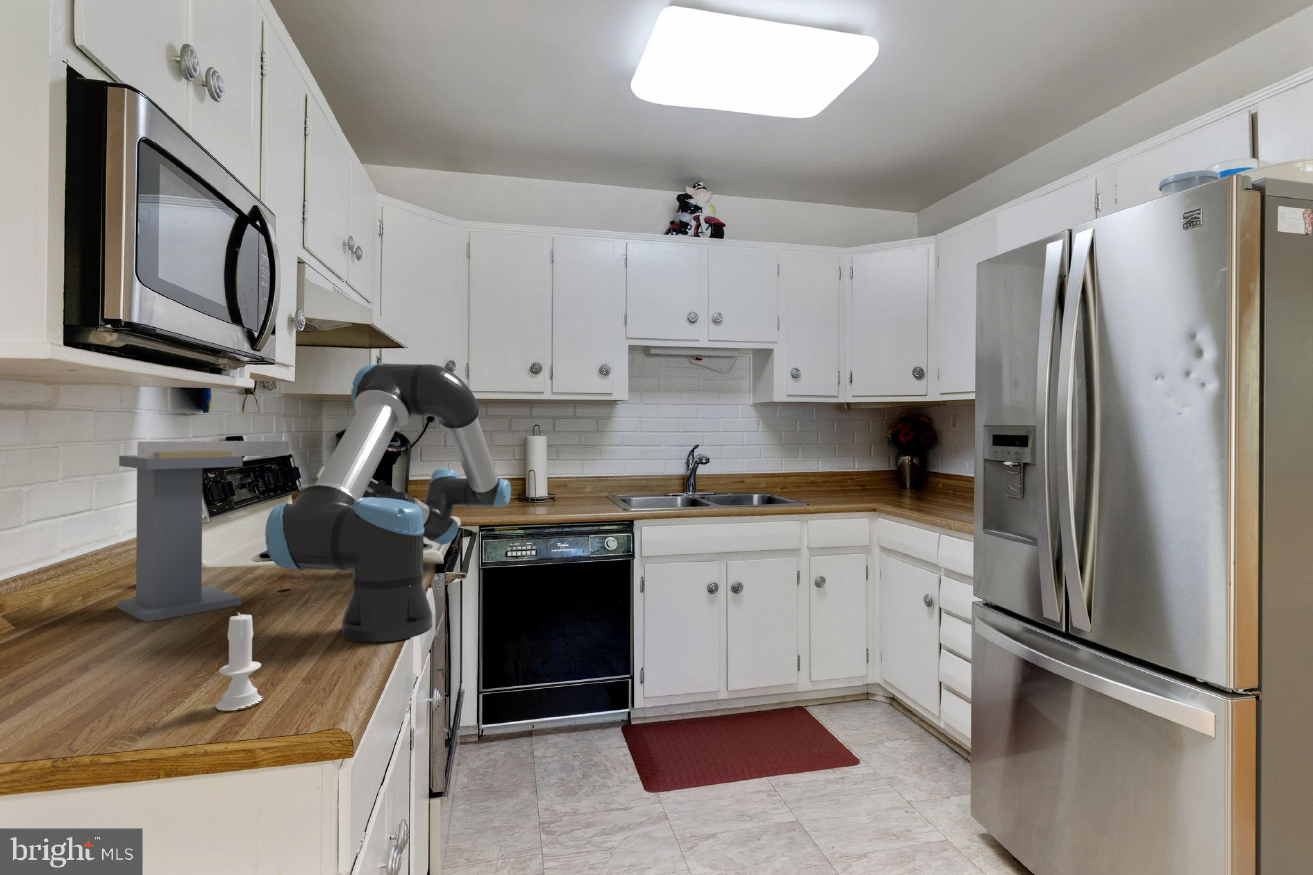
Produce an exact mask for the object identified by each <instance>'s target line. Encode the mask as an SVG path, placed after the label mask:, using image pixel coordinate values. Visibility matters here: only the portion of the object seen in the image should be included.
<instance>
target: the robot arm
mask: <svg viewBox="0 0 1313 875" xmlns="http://www.w3.org/2000/svg"><path fill="white" fill-rule="evenodd" d="M350 391H351V392H350V394H351V395H350V396H351V402H352V405H353V407H354V410H355V415H354V417H353V419H352V420H351V422H350V423H349V426H348V427H347V429H346V430H345V432H344V434H343V435H342V437H341V439H340V441H339V442H338V445H337V446H336V447H335V449H334V451H333V453H332V455H331V456H330V458H329V459H328V461H327V463H326V465H325V466H322V465H321V466H320V468H319V470H318V472H317V474H316V476H315V477H316V478H317V480H316V482H315V483H313V484H309V485H308V486H305V487H303V488H302V490H301V491H300V492H299V494H298V496H296V499H295V500H294V502H293V503H291V504H290V503H288V502H285V503H282V504H278V505H276V506H275V507H273V509H272V510H271V511H270V513H269V515H268V517H267V519H266V524H265V530H264V533H265V534H264V535H265V536H264V537H265V544H266V550H267V553H268V555H269V557H270V559H271V561H272V562H273V563H274V564H275V565H276V566H278V567H279V568H282V569H287V570H289V569H290V570H297V571H300V572H303V571H304V570H306V571H307V570H311V571H312V570H315V571H316V570H317V571H342V572H344V571H345V572H352V591H351V593H350V597H349V600H348V603H347V606H346V608H345V612H344V614H343V616H342V619H341V637H343V638H345V639H346V640H348V641H354V642H359V643H385V642H396V641H402V640H406V639H411V638H414V637H418V636H420V635H423V634H425V633H427V632H429V631H430V630H431V629H432V627H433V612H432V609H431V605H430V602H429V600H428V596H427V593H426V590H425V588H424V577H423V576H424V574H423V573H424V539H427V540H428V541H430V542H433V543H436V544H438V545H442V546H444V545H447V544H449V543H451V542H452V541H453V540H454V539H455V537H456V536H457V534H458V531H459V526H458V521H456V520H455V519H454V518H453V517H452V514H453V510H454V508H455V507H479V508H482V507H483V508H503V507H507V506H508V504H509V503H510V500H511V497H512V496H511V495H512V487H511V483H510V481H509V480H508V479H505V478H504V479H503V478H499V477H498V475H497V472H496V469H495V466H494V465H495V464H494V463H493V459H492V457H491V454H490V451H489V448H488V444H487V442H486V439H485V436H484V433H483V429H482V427H481V424H480V421H479V416H480V407H479V404H478V402H477V399H476V397H475V395H474V393H473V392H472V390H471V389H470V387H468V385H467V384H466V383H465V382H464V381H463V380H462V379H461V378H460V377H459V376H458V375H456V374H455V373H454V372H452V371H451V370H448V369H447V368H445V367H443V366H440V365H437V364H432V363H431V364H429V363H426V364H417V363H415V364H412V363H411V364H409V363H385V362H379V363H375V364H367V365H365V366H363V367H362V368H360V370H358V371H357V372H356V374H355V376H354V378H353V381H352V388H351V390H350ZM411 416H412V417H415V416H416V417H417V416H418V417H423V416H424V417H427V416H429V417H435V418H437V420H438V422H439V424H440V425H441V426H442V427H443V428H445V429H446V430H447V432H448V435H449V437H450V438H449V439H450V440H451V442H452V445H453V447H454V449H455V452H456V455H457V457H458V460H459V462H460V464H461V467H462V469H463V472H464V474H465V477H466V478H461V477H460V475H459V473H458V472H457V471H455V470H452V469H448V468H439V469H436V470H434V471H433V472H432V473H431V474H432V475H431V477H430V481H429V483H428V485H427V486H428V487H427V491H426V495H425V499H424V502H423V501H421V500H419V499H418V498H415V497H414V496H412V495H410V494H408V493H406V492H405V491H397V490H396V489H395V488H393V487H392V486H391V485H390V484H386V481H385V480H382V479H380V481H377V480H375V479H374V478H373V476H374V474H375V473H376V470H377V468H378V466H379V465H380V462H381V460H382V458H383V457H384V454H385V452H386V450H387V448H388V447H389V444H390V442H391V440H392V438H393V437H394V434H395V432H398V431H399V430H401V429H403V428H405V427H406V425H407V424H408V422H409V420H410V419H411Z"/></svg>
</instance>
